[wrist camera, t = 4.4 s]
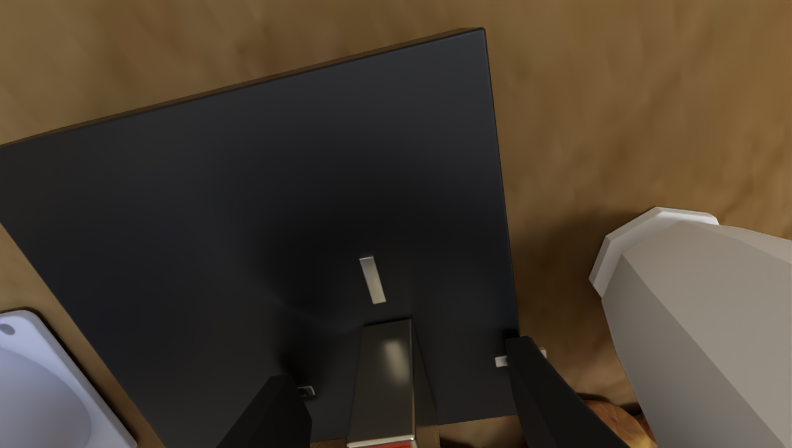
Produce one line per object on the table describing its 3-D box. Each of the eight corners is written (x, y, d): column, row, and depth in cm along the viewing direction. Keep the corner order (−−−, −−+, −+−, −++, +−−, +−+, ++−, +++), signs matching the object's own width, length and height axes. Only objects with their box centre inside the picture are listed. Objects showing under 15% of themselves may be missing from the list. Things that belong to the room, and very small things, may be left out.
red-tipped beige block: (437, 416, 12) (450, 561, 9) (393, 422, 12) (390, 568, 9) (411, 316, 11) (415, 450, 7) (361, 325, 11) (342, 460, 7)
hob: (229, 416, 17) (194, 494, 14) (56, 128, 12) (-56, 161, 9) (526, 372, 16) (553, 448, 13) (487, 21, 10) (519, 18, 7)
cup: (656, 119, 11) (1124, 285, 4) (876, 269, 13) (1450, 557, 6) (507, 296, 14) (622, 583, 7) (709, 396, 16) (963, 700, 9)
